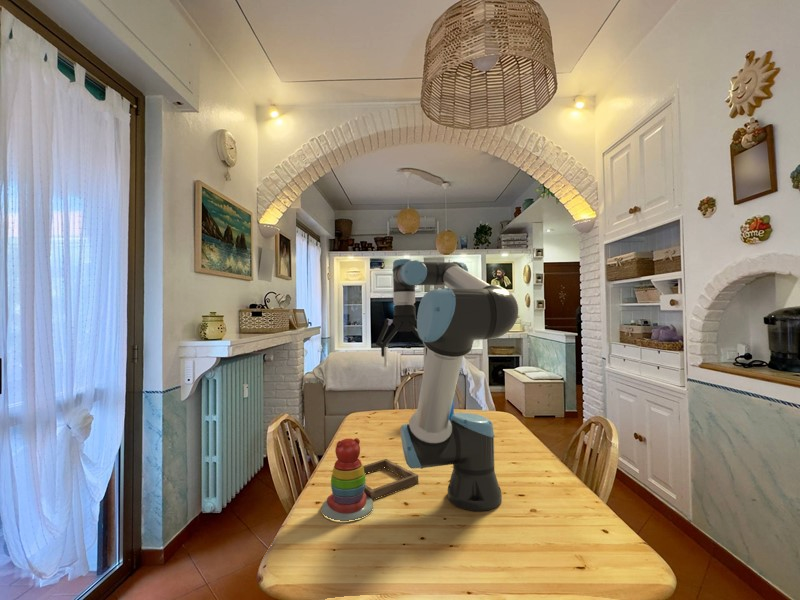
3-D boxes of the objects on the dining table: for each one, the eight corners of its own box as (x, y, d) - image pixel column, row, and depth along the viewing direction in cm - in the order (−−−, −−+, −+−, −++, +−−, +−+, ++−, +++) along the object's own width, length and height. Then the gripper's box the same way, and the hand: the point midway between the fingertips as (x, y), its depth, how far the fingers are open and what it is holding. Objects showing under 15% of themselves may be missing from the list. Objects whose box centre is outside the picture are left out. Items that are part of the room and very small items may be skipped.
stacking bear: (362, 492, 111) (361, 431, 112) (372, 509, 102) (371, 442, 102) (325, 499, 108) (324, 436, 108) (332, 517, 98) (331, 447, 99)
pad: (383, 510, 103) (383, 506, 103) (337, 529, 95) (336, 524, 95) (356, 491, 114) (356, 488, 114) (312, 506, 106) (312, 503, 106)
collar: (418, 483, 119) (418, 475, 119) (371, 501, 108) (371, 492, 109) (386, 466, 133) (385, 458, 133) (341, 480, 122) (341, 472, 122)
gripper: (441, 303, 133) (442, 365, 133) (372, 305, 138) (373, 364, 137) (439, 303, 126) (441, 368, 125) (366, 305, 131) (367, 367, 130)
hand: (405, 366), depth 131 cm, fingers open, 13 cm apart
